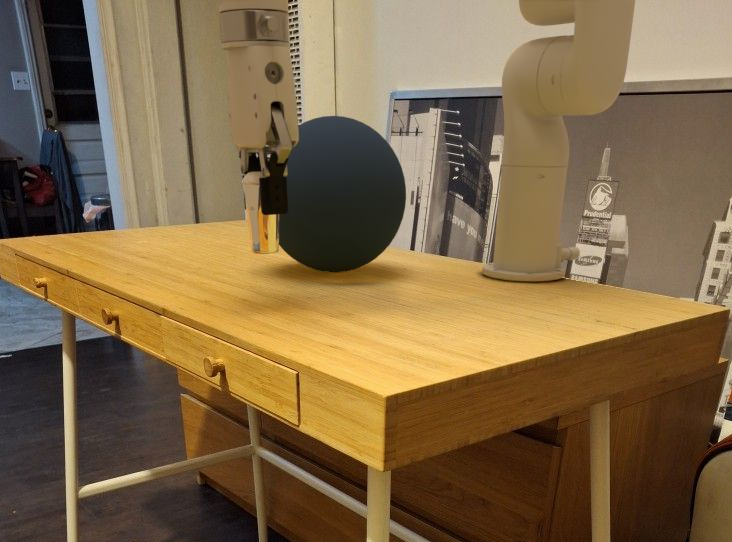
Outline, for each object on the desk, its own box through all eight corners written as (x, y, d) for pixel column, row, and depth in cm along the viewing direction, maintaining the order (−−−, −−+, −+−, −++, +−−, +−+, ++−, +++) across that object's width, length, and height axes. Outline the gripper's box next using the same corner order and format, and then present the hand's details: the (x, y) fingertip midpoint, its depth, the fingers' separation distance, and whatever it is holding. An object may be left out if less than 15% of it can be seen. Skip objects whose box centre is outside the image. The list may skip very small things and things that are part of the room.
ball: (361, 257, 133) (363, 117, 123) (430, 277, 116) (438, 116, 106) (244, 266, 124) (235, 115, 114) (300, 289, 107) (296, 113, 97)
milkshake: (290, 254, 91) (286, 164, 86) (245, 255, 91) (239, 164, 86) (290, 248, 95) (287, 161, 90) (248, 248, 95) (242, 161, 90)
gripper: (319, 27, 77) (325, 216, 86) (258, 41, 91) (267, 204, 99) (251, 25, 74) (264, 221, 83) (197, 39, 88) (213, 207, 96)
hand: (266, 210), depth 91 cm, fingers closed on milkshake, 4 cm apart
